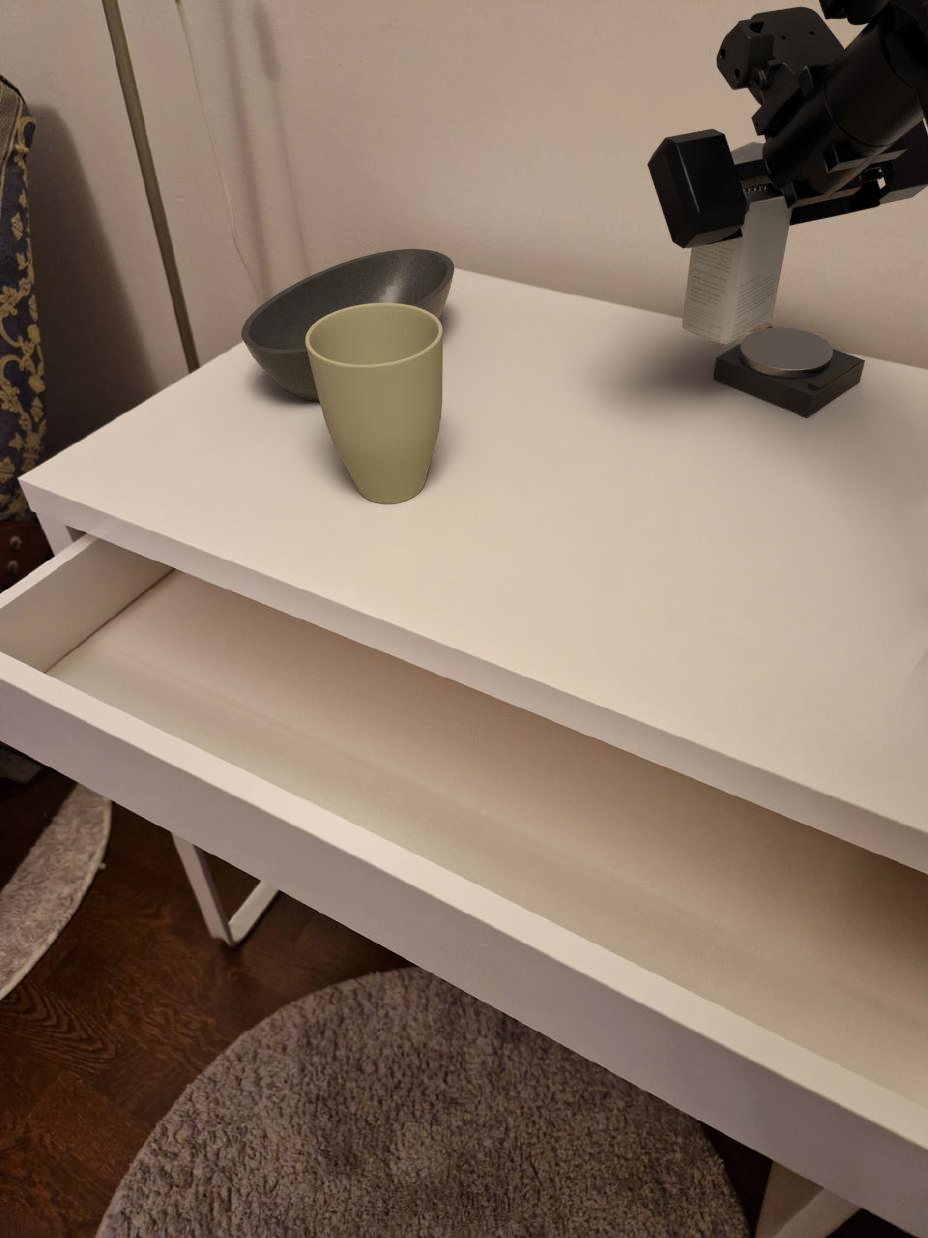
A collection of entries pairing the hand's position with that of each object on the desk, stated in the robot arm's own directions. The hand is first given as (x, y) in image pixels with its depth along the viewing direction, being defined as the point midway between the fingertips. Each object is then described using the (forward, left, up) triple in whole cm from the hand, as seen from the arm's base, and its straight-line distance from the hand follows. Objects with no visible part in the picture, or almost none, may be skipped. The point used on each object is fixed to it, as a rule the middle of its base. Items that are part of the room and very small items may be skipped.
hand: (729, 231), depth 69 cm
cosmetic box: (-1, +1, -7) cm, 7 cm away
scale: (-7, -3, -13) cm, 15 cm away
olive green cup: (+24, +13, -14) cm, 30 cm away
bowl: (+29, -4, -14) cm, 33 cm away
